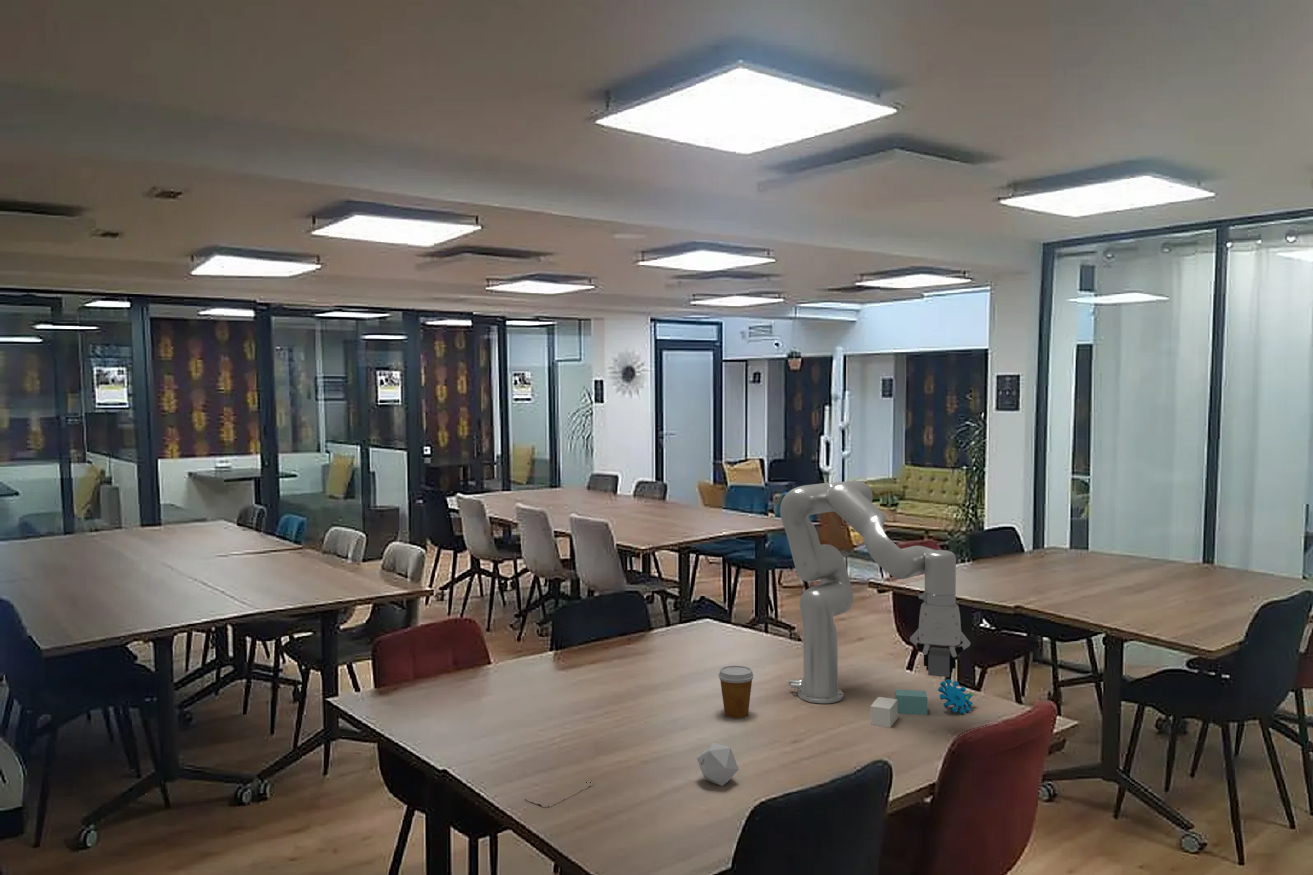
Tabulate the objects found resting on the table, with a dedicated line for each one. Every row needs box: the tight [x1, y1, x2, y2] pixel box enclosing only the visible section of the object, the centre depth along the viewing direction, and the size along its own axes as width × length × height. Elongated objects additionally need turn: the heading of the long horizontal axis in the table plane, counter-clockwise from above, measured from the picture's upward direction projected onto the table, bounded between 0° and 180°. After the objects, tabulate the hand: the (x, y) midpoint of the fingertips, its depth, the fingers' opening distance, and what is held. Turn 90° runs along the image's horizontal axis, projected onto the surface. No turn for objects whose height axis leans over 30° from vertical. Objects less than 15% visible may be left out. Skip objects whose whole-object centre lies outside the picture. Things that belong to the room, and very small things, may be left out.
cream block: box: [870, 696, 899, 729], centre depth 236 cm, size 8×5×5 cm, turn 152°
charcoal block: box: [927, 646, 951, 678], centre depth 230 cm, size 8×5×5 cm, turn 159°
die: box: [696, 742, 740, 787], centre depth 201 cm, size 8×9×10 cm
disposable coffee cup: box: [717, 665, 755, 719], centre depth 242 cm, size 10×10×12 cm
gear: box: [937, 678, 974, 715], centre depth 245 cm, size 11×6×10 cm
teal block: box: [894, 688, 928, 716], centre depth 243 cm, size 8×5×5 cm, turn 78°
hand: (939, 669), depth 230 cm, fingers closed on charcoal block, 5 cm apart
